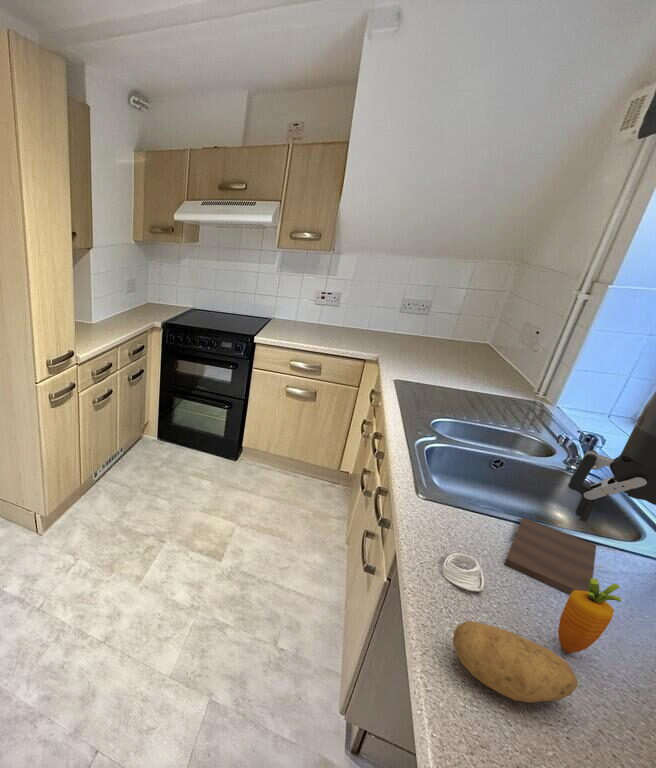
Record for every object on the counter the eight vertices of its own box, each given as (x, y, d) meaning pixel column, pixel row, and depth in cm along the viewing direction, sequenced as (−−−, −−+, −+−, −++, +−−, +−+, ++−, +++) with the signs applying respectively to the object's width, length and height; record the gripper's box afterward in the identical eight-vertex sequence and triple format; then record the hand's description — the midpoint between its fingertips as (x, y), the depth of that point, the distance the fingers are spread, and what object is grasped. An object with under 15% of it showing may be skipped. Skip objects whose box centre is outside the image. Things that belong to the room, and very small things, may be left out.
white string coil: (485, 603, 76) (497, 586, 73) (443, 587, 78) (453, 569, 76) (476, 571, 82) (487, 554, 80) (437, 557, 85) (447, 540, 82)
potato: (577, 740, 55) (601, 700, 52) (449, 689, 60) (465, 650, 58) (549, 674, 63) (569, 636, 60) (439, 634, 69) (453, 598, 66)
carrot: (580, 647, 67) (620, 576, 62) (592, 673, 63) (635, 600, 58) (540, 632, 69) (575, 563, 64) (549, 656, 65) (587, 585, 60)
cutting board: (520, 522, 96) (522, 516, 96) (593, 550, 88) (596, 545, 87) (503, 564, 84) (506, 558, 83) (587, 602, 75) (590, 596, 75)
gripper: (771, 445, 50) (704, 551, 56) (603, 407, 60) (560, 500, 66) (783, 466, 45) (707, 579, 51) (598, 420, 55) (552, 519, 61)
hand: (624, 534), depth 58 cm, fingers open, 8 cm apart
